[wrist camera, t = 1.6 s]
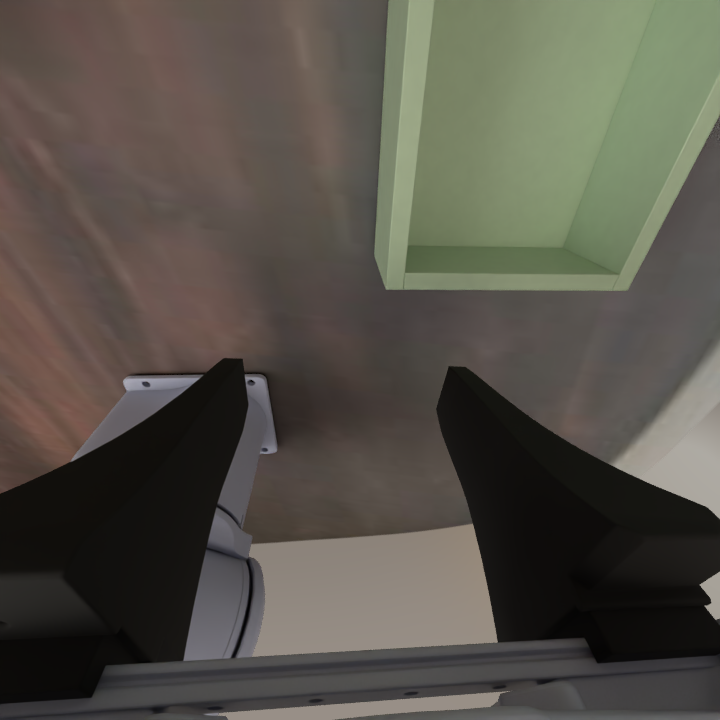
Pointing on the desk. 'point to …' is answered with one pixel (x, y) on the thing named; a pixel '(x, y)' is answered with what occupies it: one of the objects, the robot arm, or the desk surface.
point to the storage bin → (538, 138)
